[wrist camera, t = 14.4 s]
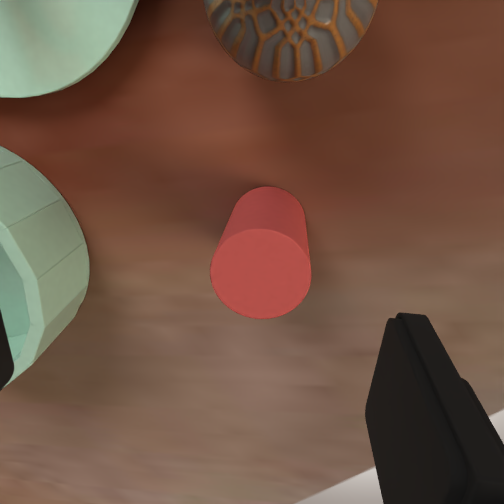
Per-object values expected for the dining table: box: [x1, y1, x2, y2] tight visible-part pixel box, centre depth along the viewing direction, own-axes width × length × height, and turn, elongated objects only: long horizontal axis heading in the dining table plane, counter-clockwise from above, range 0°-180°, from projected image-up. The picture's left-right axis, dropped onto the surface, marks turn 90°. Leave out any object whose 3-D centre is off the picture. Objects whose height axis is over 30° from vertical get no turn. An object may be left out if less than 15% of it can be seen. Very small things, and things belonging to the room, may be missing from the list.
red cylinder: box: [210, 186, 311, 319], centre depth 20 cm, size 4×4×7 cm
